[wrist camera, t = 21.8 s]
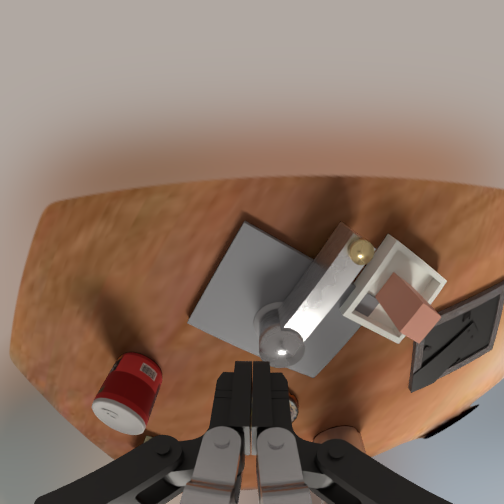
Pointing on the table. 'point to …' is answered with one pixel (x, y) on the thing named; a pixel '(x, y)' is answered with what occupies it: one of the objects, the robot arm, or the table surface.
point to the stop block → (407, 308)
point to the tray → (375, 276)
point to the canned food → (128, 394)
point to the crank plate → (268, 298)
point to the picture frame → (457, 337)
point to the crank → (312, 297)
